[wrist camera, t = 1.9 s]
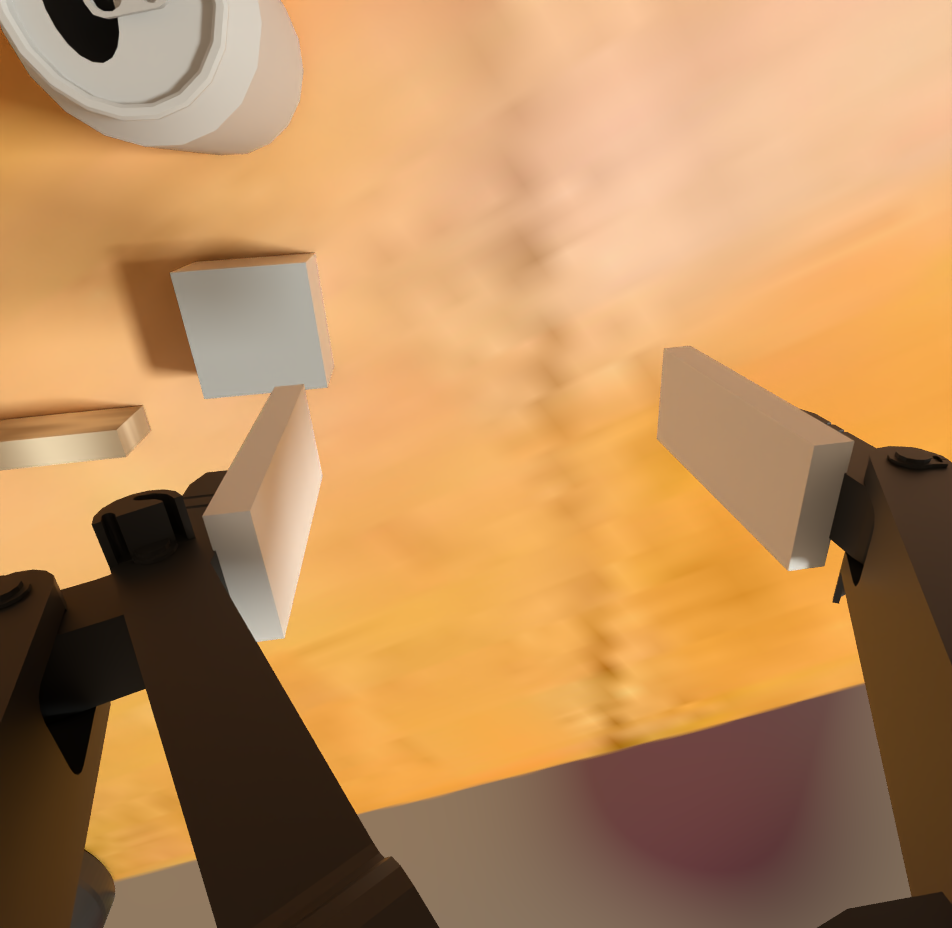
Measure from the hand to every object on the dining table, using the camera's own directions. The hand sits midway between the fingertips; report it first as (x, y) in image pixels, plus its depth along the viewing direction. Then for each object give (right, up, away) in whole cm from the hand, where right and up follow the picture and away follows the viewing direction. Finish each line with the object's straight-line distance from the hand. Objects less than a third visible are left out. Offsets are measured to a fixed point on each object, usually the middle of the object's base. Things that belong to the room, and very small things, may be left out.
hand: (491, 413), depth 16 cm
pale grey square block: (-11, +7, +15) cm, 20 cm away
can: (-12, +17, +10) cm, 23 cm away
